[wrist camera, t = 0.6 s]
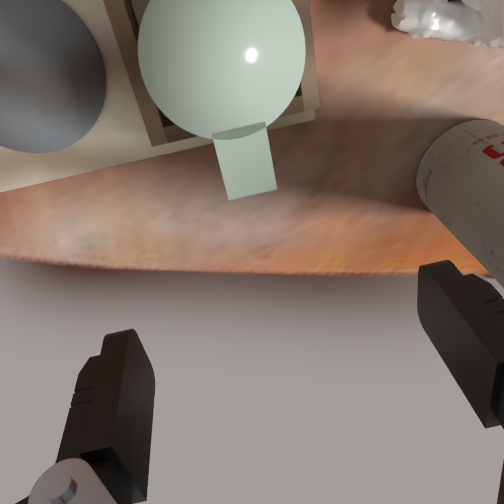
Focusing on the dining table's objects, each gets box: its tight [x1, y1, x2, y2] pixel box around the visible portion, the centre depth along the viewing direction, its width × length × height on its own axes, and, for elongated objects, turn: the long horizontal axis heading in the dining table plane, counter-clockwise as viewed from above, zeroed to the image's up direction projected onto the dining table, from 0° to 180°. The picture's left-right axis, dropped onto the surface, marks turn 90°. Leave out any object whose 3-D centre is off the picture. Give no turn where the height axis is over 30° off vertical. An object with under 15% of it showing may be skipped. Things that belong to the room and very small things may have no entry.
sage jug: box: [138, 0, 306, 201], centre depth 24 cm, size 10×7×10 cm
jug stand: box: [0, 0, 320, 192], centre depth 27 cm, size 14×24×4 cm, turn 101°
